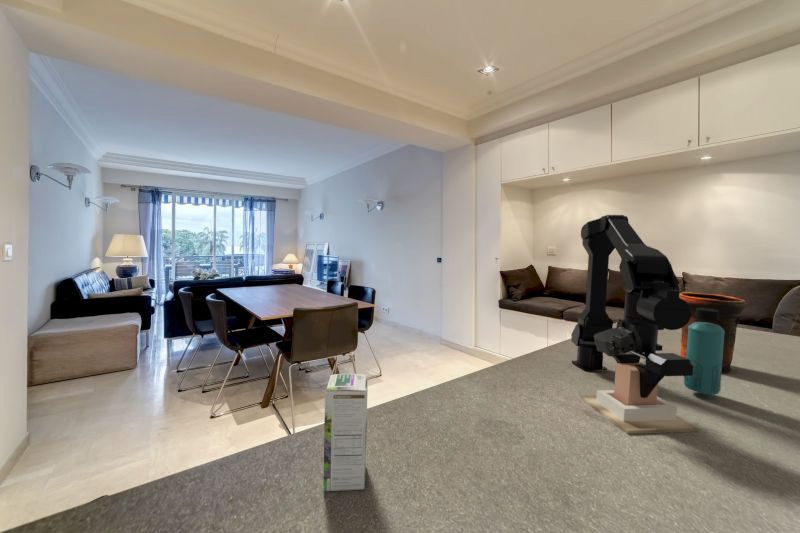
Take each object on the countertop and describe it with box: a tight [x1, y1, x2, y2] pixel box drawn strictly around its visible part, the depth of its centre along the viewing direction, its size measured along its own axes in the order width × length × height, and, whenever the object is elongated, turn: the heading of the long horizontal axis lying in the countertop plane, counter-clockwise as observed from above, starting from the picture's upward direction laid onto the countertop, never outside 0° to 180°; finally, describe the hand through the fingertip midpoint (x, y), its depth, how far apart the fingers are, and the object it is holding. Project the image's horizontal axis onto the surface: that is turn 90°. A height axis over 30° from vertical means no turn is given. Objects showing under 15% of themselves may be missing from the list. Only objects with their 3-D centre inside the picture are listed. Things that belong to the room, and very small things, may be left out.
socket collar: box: [596, 389, 678, 422], centre depth 70 cm, size 8×11×2 cm
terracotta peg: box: [613, 362, 659, 406], centre depth 70 cm, size 6×4×8 cm, turn 95°
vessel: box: [679, 291, 747, 374], centre depth 99 cm, size 14×14×20 cm
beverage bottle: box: [683, 308, 725, 396], centre depth 79 cm, size 6×7×20 cm
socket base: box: [580, 394, 699, 435], centre depth 71 cm, size 14×14×1 cm
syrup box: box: [323, 373, 369, 492], centre depth 50 cm, size 6×6×14 cm
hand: (635, 392), depth 70 cm, fingers closed on terracotta peg, 4 cm apart
